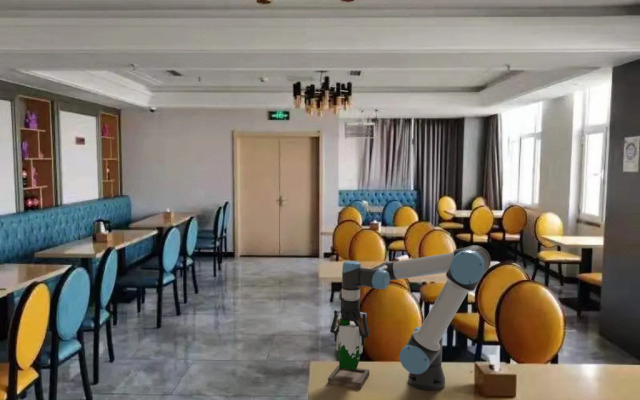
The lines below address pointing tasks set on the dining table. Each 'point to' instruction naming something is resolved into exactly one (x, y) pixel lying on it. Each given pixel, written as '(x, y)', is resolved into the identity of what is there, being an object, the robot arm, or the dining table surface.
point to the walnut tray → (349, 377)
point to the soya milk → (348, 345)
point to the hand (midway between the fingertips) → (349, 350)
